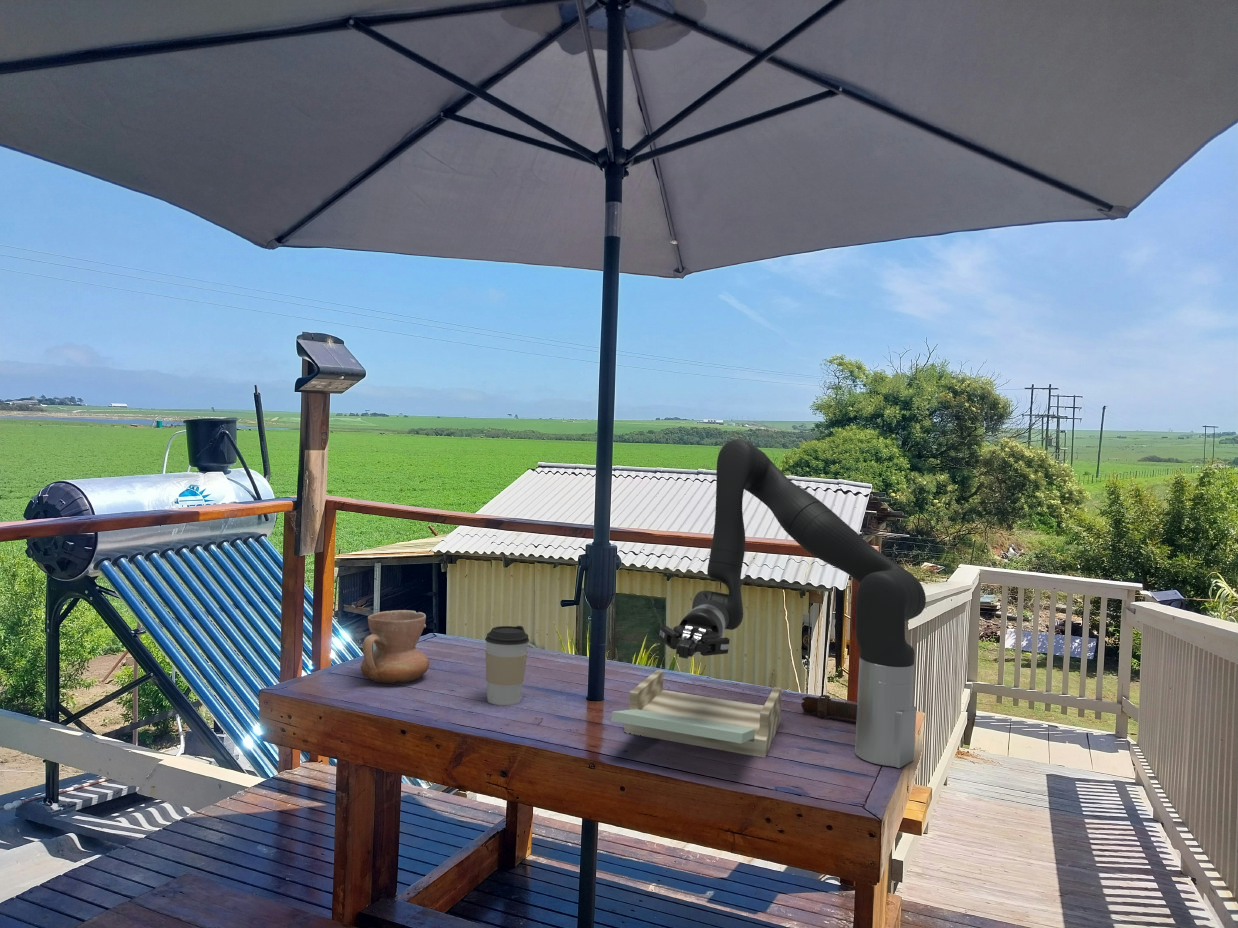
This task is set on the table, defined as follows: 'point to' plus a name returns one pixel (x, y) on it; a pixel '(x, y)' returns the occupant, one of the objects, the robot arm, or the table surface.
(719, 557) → the robot arm
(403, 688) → the table surface
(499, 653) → the coffee cup
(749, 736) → the panel
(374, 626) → the ceramic jug
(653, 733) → the cart bed
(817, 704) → the bolt
